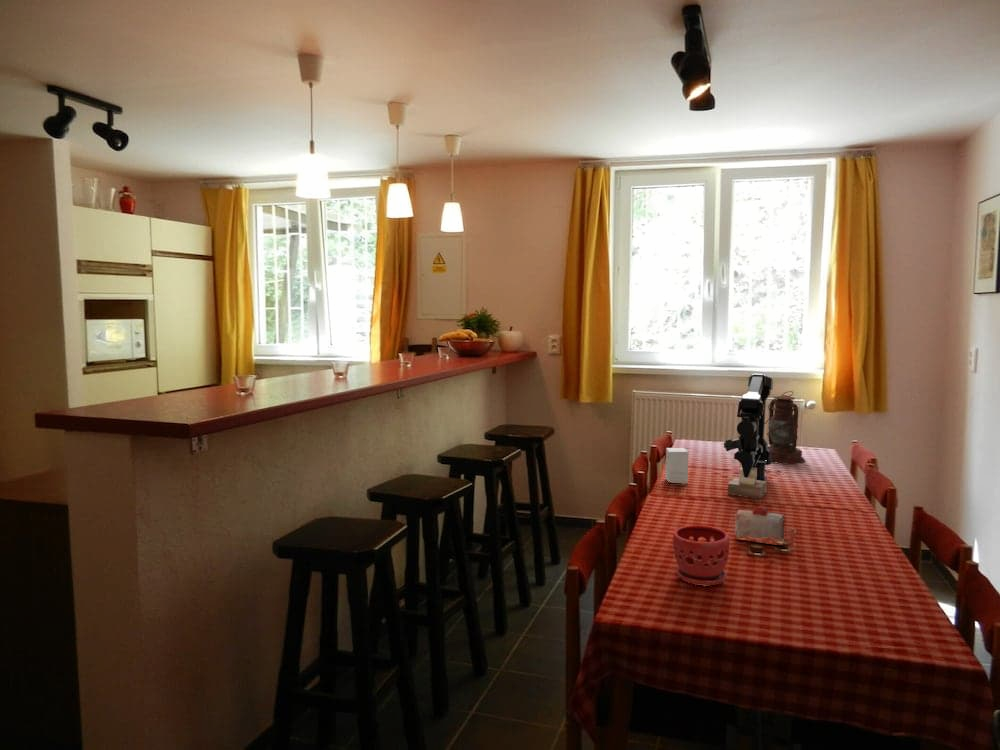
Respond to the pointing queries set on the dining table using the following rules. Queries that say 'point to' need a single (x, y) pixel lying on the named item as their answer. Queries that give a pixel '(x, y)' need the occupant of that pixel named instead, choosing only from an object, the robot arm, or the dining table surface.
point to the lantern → (783, 431)
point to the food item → (759, 524)
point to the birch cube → (751, 478)
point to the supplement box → (677, 465)
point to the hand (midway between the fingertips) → (747, 475)
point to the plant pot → (701, 554)
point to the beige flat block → (747, 488)
